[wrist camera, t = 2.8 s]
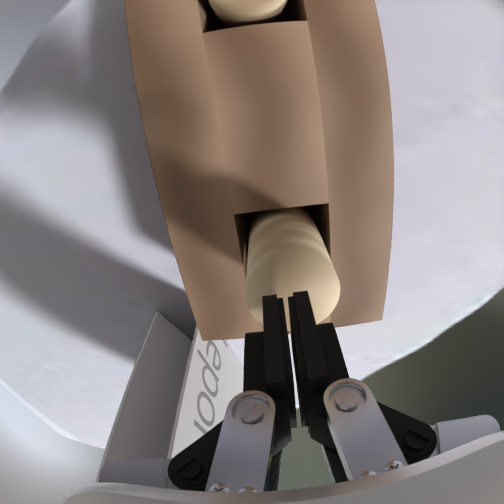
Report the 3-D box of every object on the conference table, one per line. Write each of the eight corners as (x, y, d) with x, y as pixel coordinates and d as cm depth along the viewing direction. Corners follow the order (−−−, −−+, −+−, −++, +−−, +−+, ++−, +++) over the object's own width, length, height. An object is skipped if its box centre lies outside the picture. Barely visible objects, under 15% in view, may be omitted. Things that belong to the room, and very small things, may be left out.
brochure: (253, 387, 34) (248, 625, 7) (212, 393, 35) (189, 617, 8) (205, 300, 28) (146, 653, 1) (155, 312, 28) (69, 616, 2)
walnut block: (318, -42, 13) (343, -92, 6) (352, 260, 25) (381, 319, 18) (161, -22, 14) (120, -63, 7) (216, 276, 26) (202, 341, 19)
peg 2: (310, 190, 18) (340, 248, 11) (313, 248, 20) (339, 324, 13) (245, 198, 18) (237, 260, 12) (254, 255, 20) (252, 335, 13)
